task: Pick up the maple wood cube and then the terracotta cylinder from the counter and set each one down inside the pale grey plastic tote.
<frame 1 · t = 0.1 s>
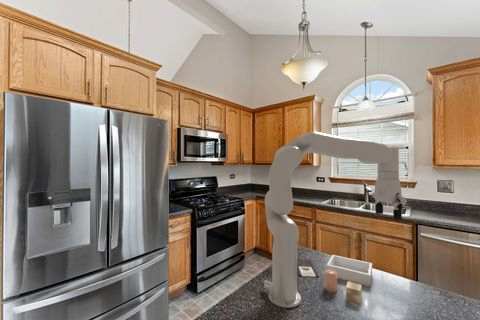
hand: (388, 216, 95), 31 cm above the countertop, tool pointing down, fingers open, 9 cm apart
chocolate bar: (304, 269, 115), on the countertop
tote: (349, 274, 108), on the countertop
wood cube: (353, 298, 89), on the countertop
terracotta cylinder: (330, 289, 96), on the countertop
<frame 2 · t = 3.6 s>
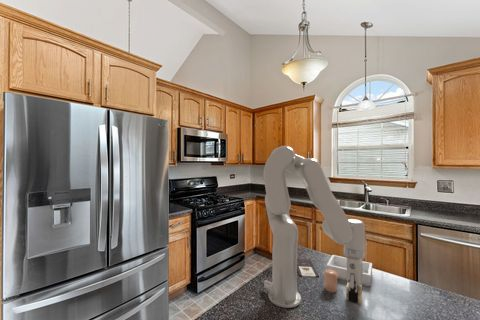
hand: (354, 297, 89), 0 cm above the countertop, tool pointing down, fingers closed on wood cube, 5 cm apart
wood cube: (354, 298, 89), on the countertop, touching gripper
everything else where it was.
when the fingers open (3 cm above the countertop, at t = 10.1 s): wood cube drops 2 cm, resting on tote.
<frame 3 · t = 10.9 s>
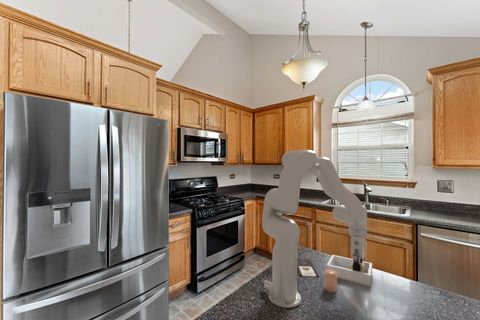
hand: (357, 267, 106), 4 cm above the countertop, tool pointing down, fingers open, 9 cm apart
wood cube: (357, 274, 106), point 1 cm above the countertop, touching tote
everything else where it was.
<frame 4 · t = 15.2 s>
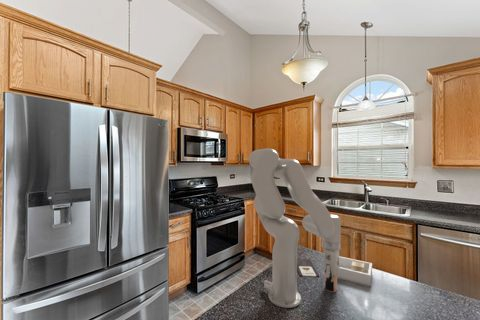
hand: (330, 286, 96), 1 cm above the countertop, tool pointing down, fingers closed on terracotta cylinder, 5 cm apart
terracotta cylinder: (330, 288, 96), on the countertop, touching gripper
everything else where it was.
when the fingers open (3 cm above the countertop, at t = 21.3 s): terracotta cylinder drops 2 cm, resting on tote.
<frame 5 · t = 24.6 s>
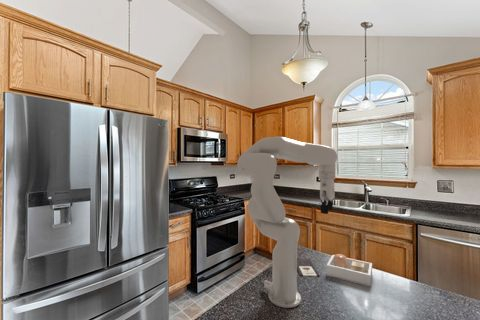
hand: (326, 211, 107), 30 cm above the countertop, tool pointing down, fingers open, 9 cm apart
terracotta cylinder: (340, 270, 110), point 1 cm above the countertop, touching tote
everything else where it was.
at the end: wood cube inside the target area on the tote (3.5 cm from its centre), point 0.8 cm above the tote's base; terracotta cylinder inside the target area on the tote (4.0 cm from its centre), point 0.9 cm above the tote's base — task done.
